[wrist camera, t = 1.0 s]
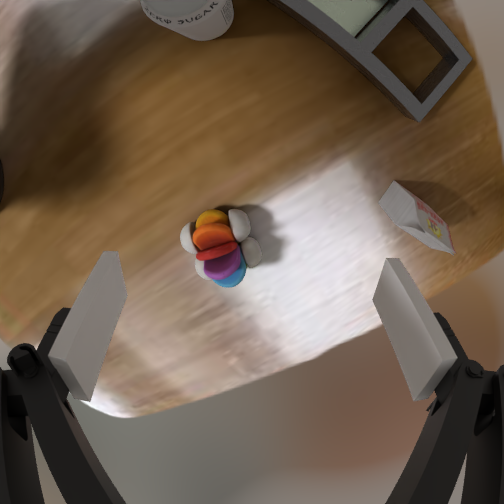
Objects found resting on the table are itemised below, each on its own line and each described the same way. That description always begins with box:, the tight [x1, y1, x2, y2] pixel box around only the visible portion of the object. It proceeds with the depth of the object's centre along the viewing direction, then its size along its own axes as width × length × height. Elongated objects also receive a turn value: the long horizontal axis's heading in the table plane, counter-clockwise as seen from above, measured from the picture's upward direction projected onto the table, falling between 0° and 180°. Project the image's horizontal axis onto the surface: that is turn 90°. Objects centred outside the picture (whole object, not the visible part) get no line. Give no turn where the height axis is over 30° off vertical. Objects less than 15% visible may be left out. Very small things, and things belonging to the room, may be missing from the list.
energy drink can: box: [140, 0, 234, 41], centre depth 20 cm, size 6×6×15 cm
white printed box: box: [378, 181, 456, 255], centre depth 35 cm, size 4×7×10 cm, turn 62°
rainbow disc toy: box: [180, 209, 262, 287], centre depth 39 cm, size 8×10×7 cm
